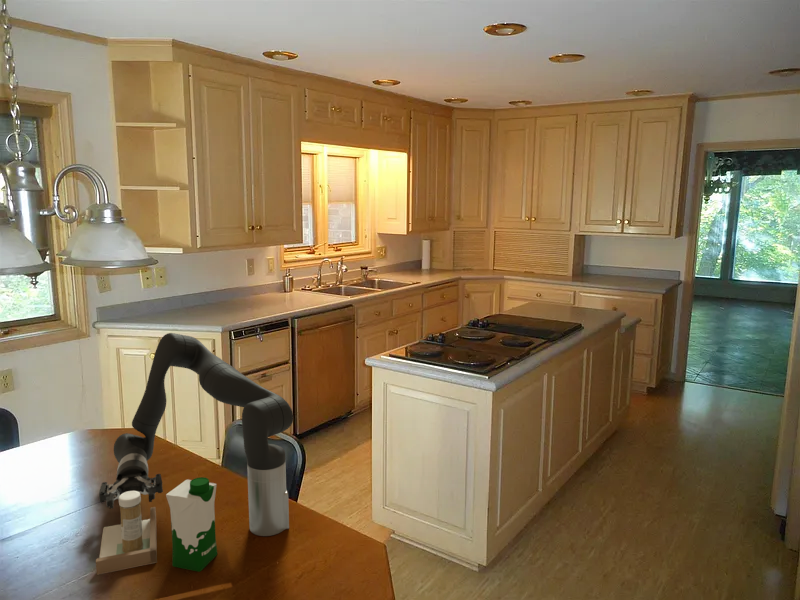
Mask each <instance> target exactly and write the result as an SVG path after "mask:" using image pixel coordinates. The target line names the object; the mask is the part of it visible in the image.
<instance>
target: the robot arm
mask: <svg viewBox="0 0 800 600" xmlns="http://www.w3.org/2000/svg"><path fill="white" fill-rule="evenodd" d="M154 352H155V353H154V355H153V360H152V362H151V363H152V364H151V367H150V371H149V373H148V374H149V375H148V379H147V383H146V385H145V386H146V387H145V390H144V393H143V395H142V398H141V400H140V403H139V405H138V407H137V410H136V412H135V414H134V416H133V419H132V421H131V426H132V428H133V429H134V430H135V431H137V432H139V433H141V434H142V435H144V436H140V435H136V434H133V433H127V432H126V433H122V434H120V435H119V436H118V437H117V438H116V440H115V441H114V445H113V455H114V457H115V459H116V461H117V463H118V465H117V470H116V477H115V478H116V479H115V481H114V482H113V483H111V484H109V483H108V482H107V481H103V482H101V484H100V488H99V491H98V498H99V503H104V502H106V507H107V508H109V509H114V503H115V500H119V496H120V495H121V494H122V493H124V492H127V491H138V492H140V494H142V495H144V496H145V495H148V503H152V502H153V500H155V499H156V494H157V493H158V494H162V493H163V492H164V489H163V479H162V475H161V473H157V474H155V476H154V477H149V465H148V461H149V460H150V459H151V458H152V456H153V453H154V447H155V439H156V433H157V429H158V426H159V425H160V422H161V420H162V417H163V416H164V414H165V411H166V407H167V393H166V387H165V385H166V384H165V379H166V375H167V373H168V370H169V369H170V367H175V368H183V369H187V370H190V371H192V372H194V373H196V374H197V375H198V381H199V386H200V387H201V388H202V390H204V391H205V392H206V393H207V394H208V395H209V396H210V397H212V398H213V399H215V400H216V401H218V402H220V403H223V404H226V405H230V406H235V407H240V408H243V410H242V412H241V427H242V435H243V436H242V438H243V449H244V452H245V453H244V454H245V456H246V463H247V464H246V467H247V469H246V470H247V492H248V493H247V498H248V499H247V501H248V524H249V531H250V532H251V533H252V534H253V535H256V536H260V537H270V536H275V535H278V534H280V533H282V532H283V531H285V530H289V529H290V515H289V514H290V512H289V492H288V490H287V472H286V468H287V467H286V458H287V457H286V451H285V449H284V448H283V447H282V446H280V445H277V444H273V443H269V438H270V437H272V436H275V435H279V434H281V433H284V432H285V431H287V430H288V429H289V428H290V427H292V424H293V423H294V413H293V410H292V408H291V406H290V404H289V403H288V402H287V400H286V399H284V397H282V396H281V395H279V394H277V393H275V392H273V391H271V390H269V389H268V388H265V387H263V386H261V385H260V384H258V383H256V382H255V381H254V380H252V379H251V378H250V377H249V378H248V377H247V376H245V375H244V374H243V373H241V372H240V371H239V370H238V369H236V368H235V367H234V366H232V365H231V364H229V363H227V361H224V360H223V359H221V358H220V357H219V356H217V355H216V354H214V353H212V351H210V350H209V349H208V348H207V347H206V346H205V345H204V344H203V342H201V341H200V340H199V339H198V338H195V337H194V336H190V335H184V334H180V333H173V332H169V333H166V334H164V335H163V336H162V337H161V338H160V340H159V341H158V343H157V346H156V350H155V351H154Z"/></svg>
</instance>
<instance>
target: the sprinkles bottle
mask: <svg viewBox="0 0 800 600" xmlns="http://www.w3.org/2000/svg"><path fill="white" fill-rule="evenodd" d="M141 496H142V495H141V493H140V492H138V491H127V492H124V493H122V494H121V495H120V496H119V499H118V504H119V505H118V506H119V509H120V510H119V511H120V524H121V535H122V545H123V547H122V551H123V552H125V553H128V552H133V551H138V550H141V549H142V548H143V542H142V520H143V519H142V510H141V508H142V507H141V502H142V497H141Z"/></svg>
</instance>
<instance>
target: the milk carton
mask: <svg viewBox="0 0 800 600" xmlns="http://www.w3.org/2000/svg"><path fill="white" fill-rule="evenodd" d="M216 492H217V483H214V482H210V480H209V478H207V477H204V476H203V477H195V478H193V479H185V480H184V481H182V482H181V483H180V484H178V485H177V486H176V487H174V488H173V489H172V490H170V491H169V492H168V493H166V494H165V496H166V500H167V503H168V506H169V511H170V512H169V513H170V523H171V524H170V526H171V544H172V550H171V551H172V555H171V557H172V564H171V565H172V567H174V568H180V569H184V570H188V571H194V572H199V573H200V572H201V571H203V570H204V569H205V568H206V567H208V565H209V564H210V563H211V562H212V561H213V560H214V559H215V558H216V557H217V555H218V547H217V538H216V536H217V535H216V517H215V515H216V512H215V502H216V501H215V499H216Z"/></svg>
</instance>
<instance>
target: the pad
mask: <svg viewBox="0 0 800 600" xmlns="http://www.w3.org/2000/svg"><path fill="white" fill-rule="evenodd" d="M142 542H143V548H142V549H141V550H144V549H149V548H150V538H147V539H142ZM122 547H123V545H122V543H121V544H117V551H116V555H118V554H123V553H125V552H123V551H122Z"/></svg>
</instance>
